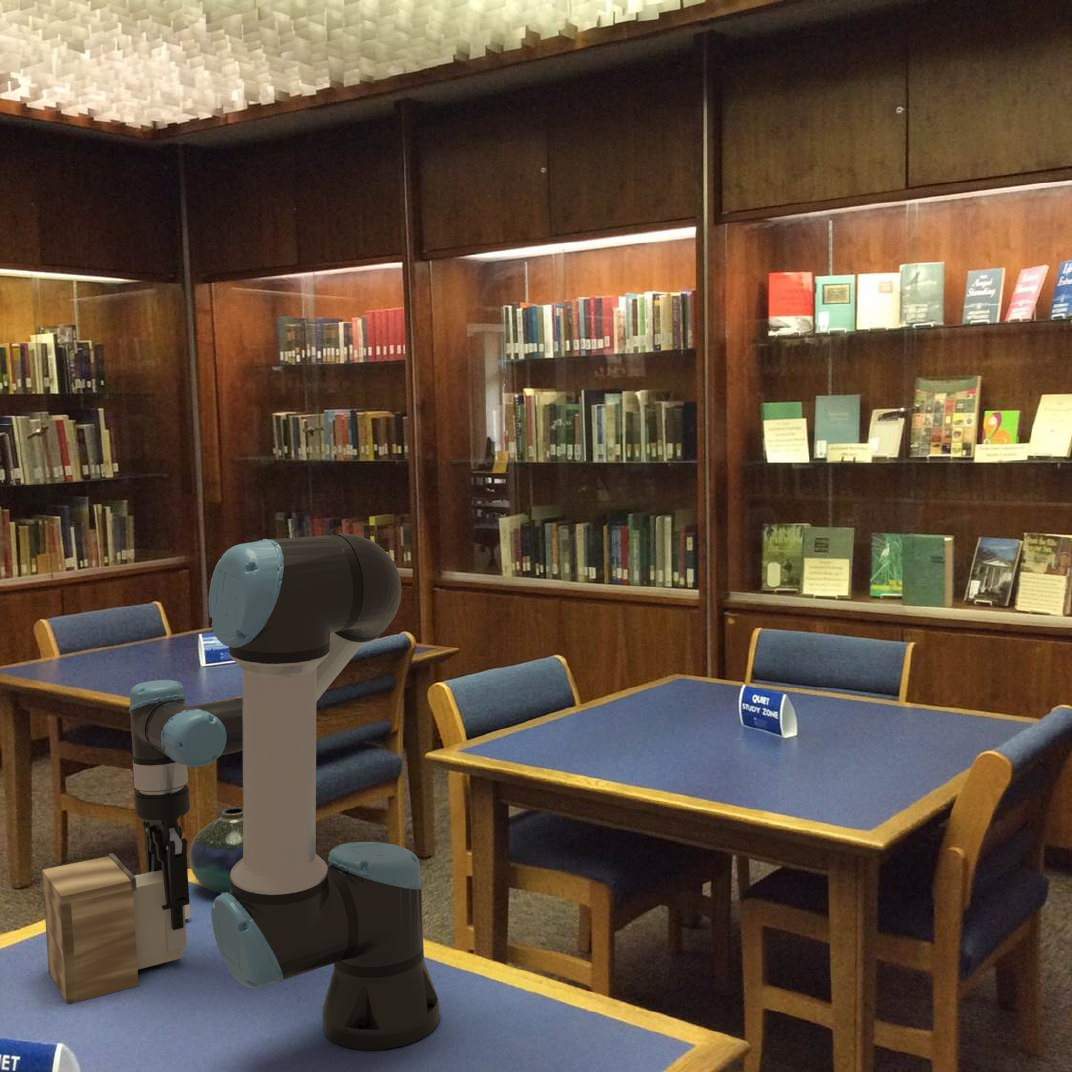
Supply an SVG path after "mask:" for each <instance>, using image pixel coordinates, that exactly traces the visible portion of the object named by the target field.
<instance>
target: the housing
mask: <svg viewBox="0 0 1072 1072" xmlns="http://www.w3.org/2000/svg"><path fill="white" fill-rule="evenodd" d="M41 872H42V874H41V875H42V888H43V902H44V905H43V906H44V920H45V934H46V949H47V950H46V951H47V965H48V967H47V969H48V973H49V975H50V976H51V978H52V980H53V982H54V983H55V985H56V986H57V989H58V990H59V992H60V993H61V995H62V996H63V998H64V1000H65V1002H66V1003H67V1005H71V1004H75V1003H78V1002H83V1001H86V1000H90V999H94V998H97V997H100V996H101V997H102V996H105V995H108V994H112V993H116V992H121V991H124V990H128V989H132V988H135V987H139V973H138V972H139V971H138V970H139V969H138V967H137V950H136V932H135V915H134V897H133V891H137V889H136V878H135V877H134V876H135V875H134V874H133V873H132V872H131V871H130V870H129V869H128V868H127V867H126V866H125V865H124V864H123V863H122V861H120V859H119V858H118V857H117V856H116V855H115V854H114V853H113V852H112V853H108V856H102V857H98V858H93V859H88V860H83V861H78V862H73V863H69V864H63V865H59V866H54V867H49V868H45V869H42V870H41Z"/></svg>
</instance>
